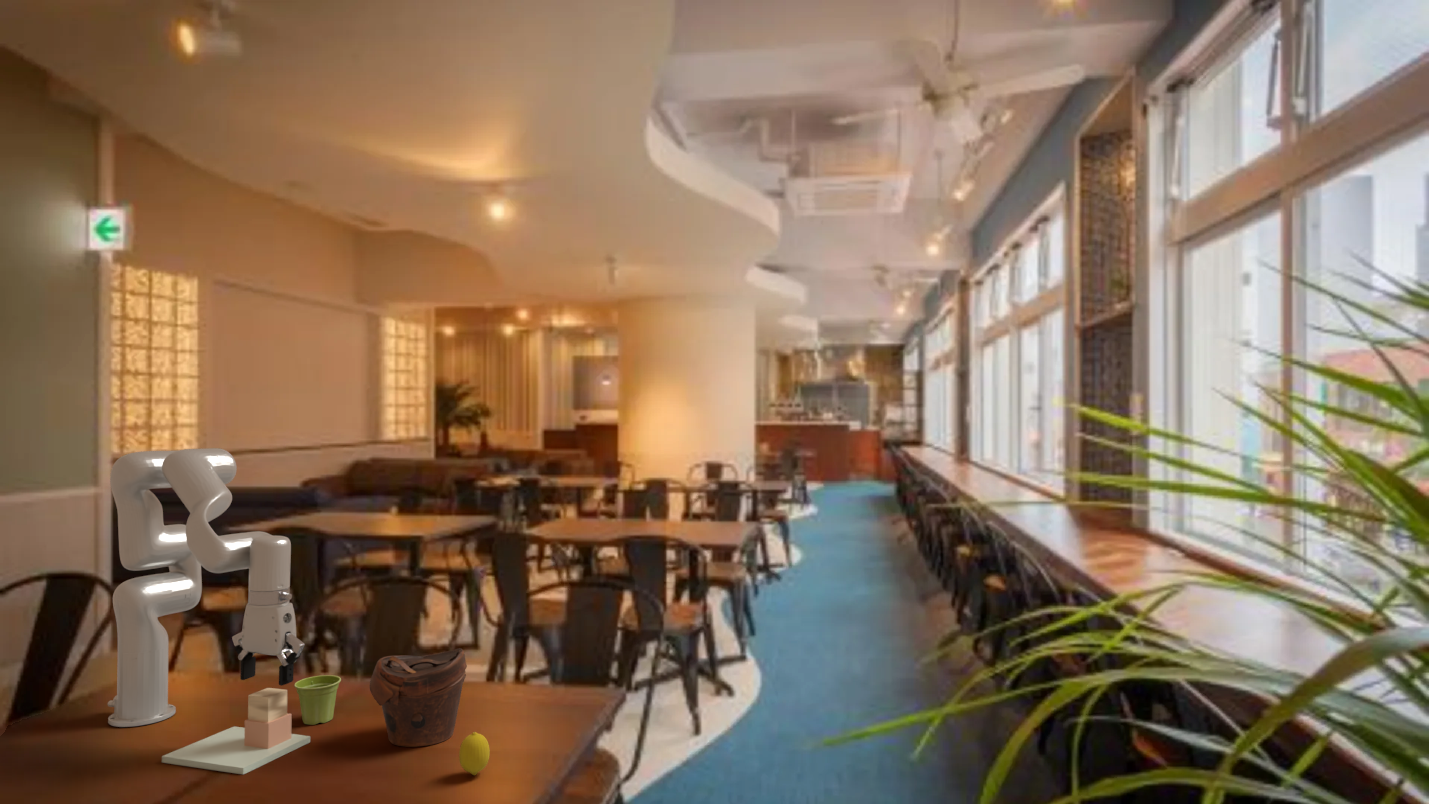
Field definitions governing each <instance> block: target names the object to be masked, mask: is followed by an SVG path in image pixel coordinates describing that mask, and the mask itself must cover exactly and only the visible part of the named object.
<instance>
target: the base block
mask: <svg viewBox="0 0 1429 804" xmlns="http://www.w3.org/2000/svg"><path fill="white" fill-rule="evenodd" d="M292 716H293V715H292V713H288V712H287V715H284V716H282V717H280V718H277V719H275V720H273V721H270V722H260V721H252V720H248V718H247V719H245V720H244V728H245V739H244V746H251V747H259V748H266V749H269V748H271V747H273V746H275V745H278V744H280V743H282V742H284V741H286V740H288V739H291V734H292Z"/></svg>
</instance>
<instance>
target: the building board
mask: <svg viewBox="0 0 1429 804" xmlns="http://www.w3.org/2000/svg"><path fill="white" fill-rule="evenodd" d="M244 739H245V727H241V726H240V727H239V726H235V725H233V726H231V727H230V728H227V729H224V730H222V731H219V732H217V733H214V734H212V735H210V736H208V737H205V738H202V739H200V740H197V741H196V742H193V743H190V744H188V745H186V746H184V747H181V748H178V749H176V750H173V751H172V752H169V753H166V754H164V755H162V756H161V763H164V764H169V765H170V764H171V765H176V766H183V767H190V768H198V769H204V770H209V771H218V772H224V773H228V774H231V773H232V774H238V775H245V774H247V773H249V772H252V771H254V770H256V769H258V768H260V767H262V766H264V765H266V764H269V763H270V762H272V761H274V760H276V759H279V758H281V757H282V756H284V755H287V754H288V753H289V754H290V752H293V751H295V750H297V749H299V748H301V747H303V746H305V745H308V744H309V743H311V736H310V735H304V734H297V733H291V739H288V740H286V741H284V742H282V743H280V744H278V745H275V746H273V747H271V748H269V749H266V748H259V747H251V746H244Z"/></svg>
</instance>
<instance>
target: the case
mask: <svg viewBox="0 0 1429 804" xmlns="http://www.w3.org/2000/svg"><path fill="white" fill-rule="evenodd" d="M467 667H468V666H467V661H466V655H465V651H464V650H463V648H460V647H459V648H456V649H453V650H448V651H443V652H439V653H435V654H428V655H423V656H421V655H406V654H405V655H402V654H401V655H400V654H399V655H387V656H382V657H381V658H379V659H378V660H377V662H376V664H375V666H374V669H373V671H372V675H371V677H370V681H369V691H370V694H371V696H372V697H373V700H375V701H376V703H377V704H378V706H381V709H382V713H383V718H384V722H385V723H384V724H385V727H386V732H387V735H388V741H389V742H390V743H391V744H392V745H395V746H399V747H406V748H407V747H408V748H415V747H416V748H417V747H426V746H431V745H436V744H440V743H442V742H445V741H447V740H449V739H450V738H451V737H452V736H453V734H454V731H455V728H456V727H455V726H456V721H457V716H458V711H459V705H460V701H461V697H462V696H461V694H462V690H463V686H464V685H463V684H464V682H465V679H466V676H467V672H466V670H467Z"/></svg>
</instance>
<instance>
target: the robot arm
mask: <svg viewBox="0 0 1429 804" xmlns="http://www.w3.org/2000/svg"><path fill="white" fill-rule="evenodd" d="M237 468H238V467H237V462H236V459H235V458H234V456H233V455H232V454H231V453H230V452H229V451H228V450H226V449H223V448H220V447H219V448H217V447H215V448H214V447H213V448H212V447H211V448H209V447H208V448H187V449H186V448H184V449H179V450H178V449H177V450H147V451H145V450H144V451H137V452H136V451H135V452H131V453H127V454H125V455H122V456H120V457H119V458H118V459H117V460H116V461H115V462H114V463H113V465H112V467H111V470H110V474H109V477H110V478H109V485H110V490H111V493H112V496H113V498H114V503H115V506H116V509H117V511H116V512H117V527H118V529H117V530H118V551H119V553H118V554H119V559H120V563H121V565H122V567H123V568H124V569H126V570H128V571H133V572H135V571H147V570H153V569H159V568H166V567H167V568H168V569H169V572H163V573H155V574H154V573H153V574H148V575H143V576H136V577H134V578H133V577H132V578H130V579H127V580H125V581H123V582H122V583H120V584H118V586H117V587H116V588H115V590H114V592H113V595H112V606H113V611H114V616H115V621H116V631H117V665H116V666H117V671H116V672H117V674H116V676H117V679H116V695H115V696H114V697H113V700H112V699H111V700H109V701H108V702H107V707H109V708H114V709H113V710H114V711H113V713H112V714H110V715H109V716H108V718H107V719H108V720H107V723H108V725H110V726H112V727H117V728H118V727H119V728H128V727H129V728H131V727H140V726H146V725H151V724H155V723H159V722H161V721H164V720H167V719H168V718H169V719H170V718H171V717H172V716H174V715H175V714H176V713H177V711H176V710H177V708H176V706H175V705H173V704H170V703H169V635H168V631H167V630H166V628H165V627H164V626H163V625H162V623H160V621H159V619H158V618H159V617H163V616H167V615H172V614H176V613H177V614H178V613H183V612H186V611H189V610H192V609H194V608H195V607H196V606H197V605H199V602H200V601H201V597H202V591H203V583H202V582H203V581H202V580H203V579H202V568H203V569H205V570H206V571H208V572H210V573H213V574H223V573H229V572H234V571H235V572H236V571H240V570H247V569H248V598H247V603H246V606H245V611H244V614H243V615H244V616H243V620H242V627H241V628H242V630H241V631H239V632H238V633H237V634H235V635H233V636H231V638H232V639H231V640H232V642H233V645H234V650H235V652H236V653H237V655H238V656H237V658H238V660H239V661H240V680H241V681H245V680H248V679H250V678H254V677H255V676H256V661H257V660H256V656H254V655H255V654H260V655H267V656H276V657H277V658H278V660H279V662H280V663H281V664H280V665H279V667H278V685H279V686H284V685H287V684H290V683H293V681H294V664H295V663H296V662H297V660H298V659H299V658H300V657H301V656H302V651H303V650H304V647H305V643H304V642H303V641H302V640H301V639H299V638H298V637H297V625H296V624H297V621H296V615H295V608H294V605H293V603H292V602H290V600H292V598H293V593H290V591H291V590H290V589H291V587H290V586H291V560H292V559H291V557H292V556H291V555H292V544H291V540H290V538H289V537H287V536H284V535H272V534H270V533H268V532H266V531H259V530H257V531H247V532H239V533H231V534H224V535H218V534H217V533H216V532H215V531H214V529H213V528H212V527H211V525H210V524H209V522H211V521H213V520H214V519H216V518H218V517H220V516H222V514H223V513H225V512H226V511H227V509H228V508H229V507H230V506H231V503H232V501H233V495H232V492H231V491H230V489H229V488H228V487H227V486H226V485H227V484H230V483H231V482H232V481H234V478H235V477H236V474H237ZM169 488H172V490H173V491H174V492H175V493H176V496H177V497H178V498H179V499H180V501H181V502H182V504H184V507H185V508H186V509H187V511H188V512H189V516H188V518H187V521H186V524H183V523H182V524H181V523H177V524H168V525H165V524H164V512H163V511H164V510H163V505H162V503H161V502H160V500H159V499H158V497H157V496H156V494H154V492H152V491H151V490H152V489H169ZM285 654H286V655H285Z"/></svg>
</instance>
